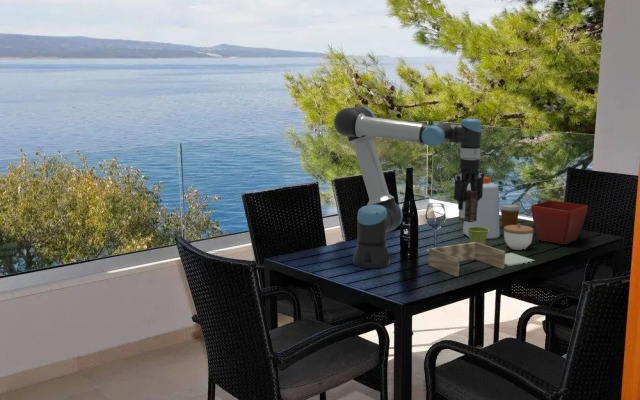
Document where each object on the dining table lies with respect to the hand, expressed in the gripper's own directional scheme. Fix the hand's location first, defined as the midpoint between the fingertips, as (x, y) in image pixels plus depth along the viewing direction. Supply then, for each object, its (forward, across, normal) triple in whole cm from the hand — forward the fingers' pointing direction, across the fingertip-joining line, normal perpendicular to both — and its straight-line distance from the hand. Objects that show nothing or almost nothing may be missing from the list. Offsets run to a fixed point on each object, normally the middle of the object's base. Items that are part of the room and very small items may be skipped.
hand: (467, 216), depth 292 cm
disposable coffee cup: (+21, +62, +44) cm, 79 cm away
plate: (+20, +23, 0) cm, 31 cm away
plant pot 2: (+21, +65, +15) cm, 70 cm away
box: (+2, 0, 0) cm, 2 cm away
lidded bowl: (+21, +40, +14) cm, 47 cm away
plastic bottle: (+21, +41, +40) cm, 61 cm away
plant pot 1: (+21, +24, +22) cm, 39 cm away
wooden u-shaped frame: (+21, 0, 0) cm, 21 cm away
